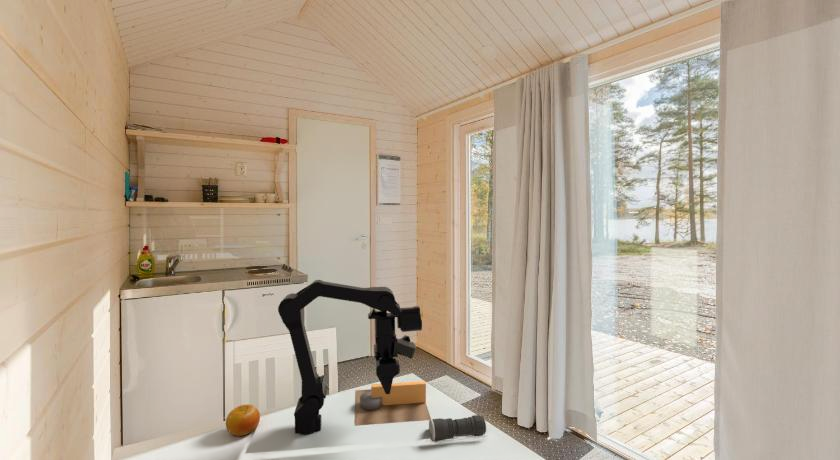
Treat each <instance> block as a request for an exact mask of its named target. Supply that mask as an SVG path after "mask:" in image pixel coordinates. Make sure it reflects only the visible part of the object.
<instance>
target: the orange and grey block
mask: <svg viewBox="0 0 840 460" xmlns="http://www.w3.org/2000/svg"><path fill="white" fill-rule="evenodd" d="M370 387H371V388H370V389H371V391H370V392H365V393H363V394H362V395H361V396H360V407H361V408H362V409H364V410H376V409H379V408H381V407H382V405H396V404H411V403H425V402H426V401H427V391H426V390H427V383H426V381H424V380H423V381H421V380H419V381H406V382H403V381H402V382H392V386H391V391H390V394H386V393H385V391H384V389H383V387H382V385H381V383H374V384H371V385H370ZM426 403H427V402H426Z"/></svg>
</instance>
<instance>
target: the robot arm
mask: <svg viewBox="0 0 840 460" xmlns="http://www.w3.org/2000/svg"><path fill="white" fill-rule="evenodd" d="M319 297H323V298H326V299H327V298H328V299H334V300H339V301H341V300H342V301H346V302H347V301H348V302H353V303H360V304H362V305H365V306H366V307H369V308H371V309H372V310H371V311H370V312H368V313H367V318H368V320H374V342H375V344H374V345H373V354H374V358H375V376H376V377H377V378H378V380H379V382H380V383H379V384H381V385H382V387H383V389H384V391H385V393H386V394H390V391H391V386H392V383H393V382H394V381H393V380H394V378H395V377H396V376H398V375H399V374H401V368H400V367H401V366H400V362H399V360H398V359H396V358H397V357H398V356H399V355H400V356H403V357H405V358H407V359H413V358H414V356H415V353H416V349H417V347H416V344H415V343H414V341H411V337H410V336H409V335H403V336H402V337H401V338H397V333H396V326H397V329H399V330H400V331H401V332H402V333H406V332H421V331H422V330H423V320H422V314H421V308H420V306H419V305H415V306H410V307H409V306H408V307H400V304H399V303H398V302H397V301H396V297H395V294H394V291H393V290H392V289H391V288H389V287H387V286H371V287H361V286H360V287H359V286H355V285H354V286H353V285H347V284H342V283H341V284H340V283H335V282H329V281H324V280H321V279H316V280H314V281H312V282H311V283H310V284H309V285H306V286H305V287H304V288H302V289H300V290H299V291H297V292H296V293H289V294H287V295H286V296H284V298H282V300H281V301H280V303H279V304H278V307H277V311H278V314H279V317H280V318H281V321H282V323H283V324H284V326H285V327H286V329H287V330H288V332H289V335H290V340H291V343H292V344H291V345H292V347H293V351H294V355H295V360H296V363H297V367H298V370H299V371H298V372H299V376H300V379H301V396H300V397H299V399H298V401H297V403H296V407H295V410H294V414H293V416H294V433H295V434H299V435H301V436H307V435H308V436H309V435H312V434H314V433H318V432H321V431H322V422H323V421H322V414H321V413H320V410H321V409H322V408H323V406H324V403H325V399H326V398H327V392H328V385H327V383H326V379H325V377H326V376H325V374H322V375H321V376H320V375H319V373H318V372H317V370H316V366H315V362H314V361H315V360H314V357H313V354H312V350H311V346H310V343H309V339H308V335H307V330H306V326H305V307H307V306H308V305H309V304H311V303H312V302H313V301H314V300H317V298H319ZM398 358H399V357H398Z"/></svg>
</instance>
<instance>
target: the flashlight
mask: <svg viewBox="0 0 840 460" xmlns="http://www.w3.org/2000/svg"><path fill="white" fill-rule="evenodd" d="M486 425H487V424H486V420H485V417H484V416H483V415H480V414H475V415H472V416H468V417H463V418H457V419H456V418H454V419H453V418H433V419H432V418H431V419H430V420H428V430H429V432H430V434H431V437H430V440H431V442H439V441H440V442H441V441H445V440H447V439H449V440H450V439H454V438H455V436H459V437H462V436H463V437H464V435H465V436H466V437H467V436H468V435H471V436H474V437H481V436H483V435H485V434H486V433H487V426H486Z"/></svg>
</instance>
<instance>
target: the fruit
mask: <svg viewBox="0 0 840 460" xmlns="http://www.w3.org/2000/svg"><path fill="white" fill-rule="evenodd" d="M260 420H261V415H260V411H259V409H258V407H256V406H255V405H252V404H242V405H241V404H240V405H239V406H236V407H235V408H233V409H232V410H231V411H230V412H229V413H228V414H227V416H226V419H225V427H226V429H227V432H229V434H232V435H233V436H237V437H238V436H239V437H240V436H241V437H243V436H245V435H248V434H251V433H253V431H255V429H256V428H257V427H258V426H259V422H260Z"/></svg>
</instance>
